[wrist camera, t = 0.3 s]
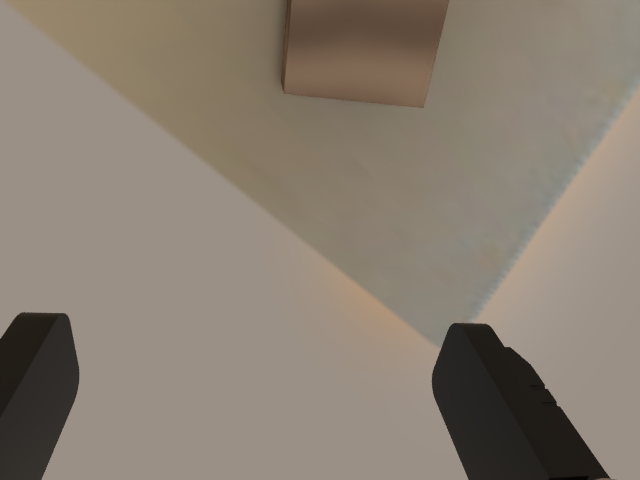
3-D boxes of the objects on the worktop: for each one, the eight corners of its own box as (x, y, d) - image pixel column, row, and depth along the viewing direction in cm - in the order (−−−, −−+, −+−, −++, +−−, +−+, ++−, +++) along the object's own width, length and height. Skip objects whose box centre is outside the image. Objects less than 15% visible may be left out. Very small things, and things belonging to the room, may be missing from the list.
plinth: (293, -80, 28) (299, -87, 25) (439, -55, 30) (463, -59, 27) (281, 81, 33) (283, 93, 30) (407, 95, 35) (423, 108, 32)
